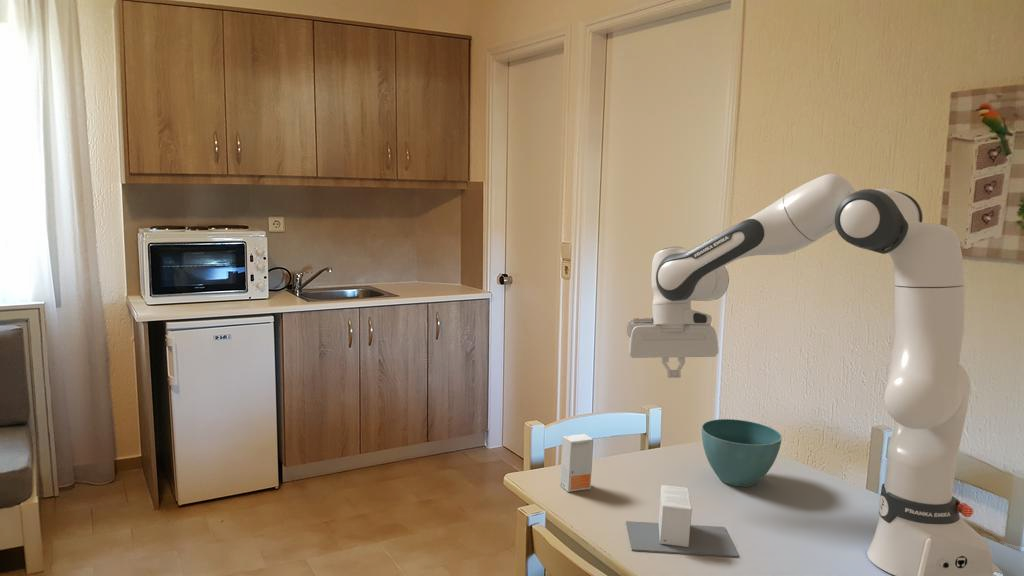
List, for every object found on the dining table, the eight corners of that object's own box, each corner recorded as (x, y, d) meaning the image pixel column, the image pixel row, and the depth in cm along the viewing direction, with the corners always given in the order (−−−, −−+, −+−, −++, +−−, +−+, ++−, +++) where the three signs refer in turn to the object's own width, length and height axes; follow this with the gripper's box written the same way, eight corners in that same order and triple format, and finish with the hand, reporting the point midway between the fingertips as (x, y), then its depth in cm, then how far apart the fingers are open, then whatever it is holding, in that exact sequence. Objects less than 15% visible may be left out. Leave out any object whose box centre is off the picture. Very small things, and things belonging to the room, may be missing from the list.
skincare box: (568, 493, 165) (570, 441, 163) (559, 485, 169) (561, 435, 167) (591, 489, 168) (594, 439, 166) (582, 482, 171) (584, 433, 170)
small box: (685, 523, 151) (689, 548, 141) (657, 520, 152) (659, 544, 142) (688, 486, 150) (692, 509, 140) (660, 483, 151) (662, 505, 140)
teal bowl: (792, 483, 175) (796, 434, 173) (749, 502, 163) (754, 449, 162) (726, 460, 189) (730, 414, 187) (683, 476, 177) (686, 427, 175)
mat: (724, 528, 150) (724, 526, 150) (738, 557, 138) (738, 555, 138) (625, 522, 151) (626, 521, 151) (631, 550, 140) (631, 549, 139)
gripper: (627, 317, 168) (629, 378, 167) (718, 316, 166) (721, 377, 165) (625, 319, 174) (627, 377, 173) (713, 317, 173) (715, 376, 171)
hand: (673, 377), depth 169 cm, fingers closed
